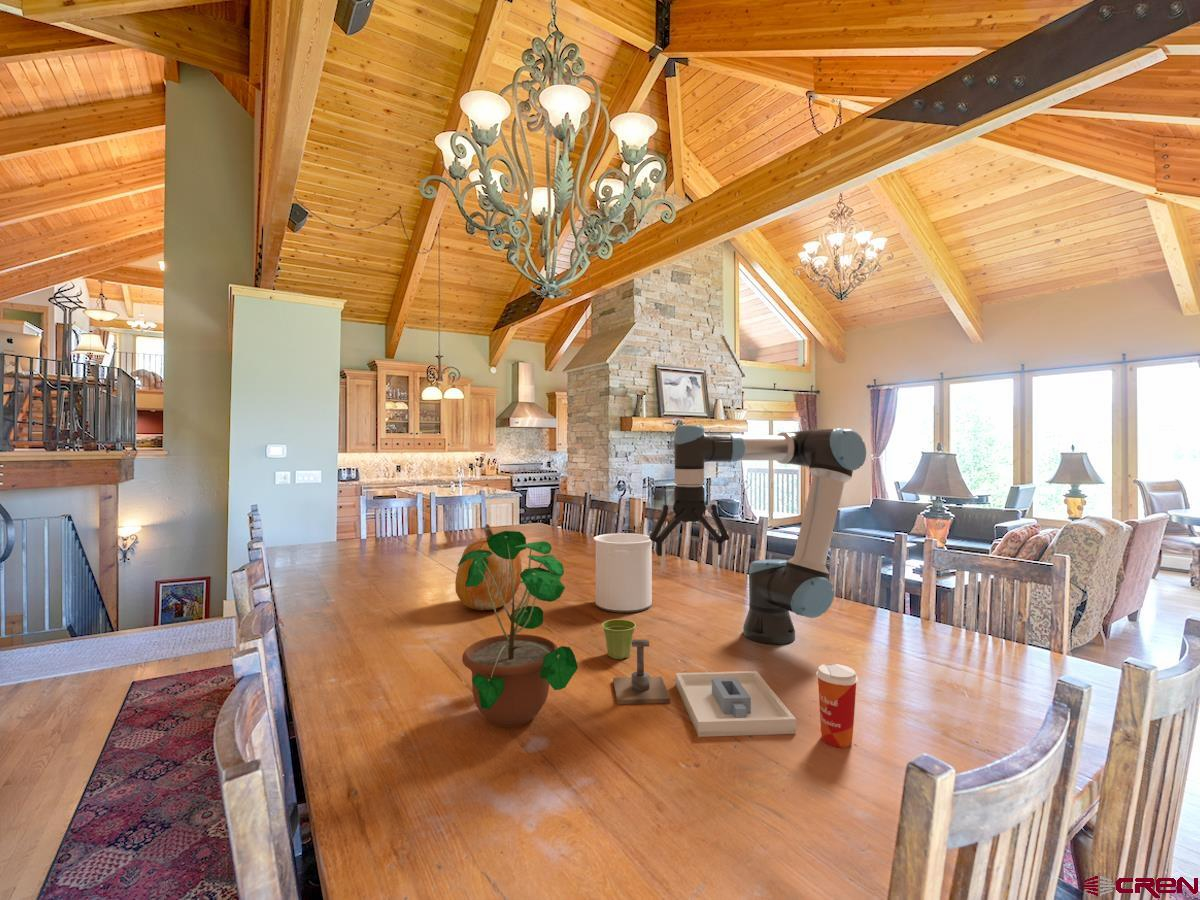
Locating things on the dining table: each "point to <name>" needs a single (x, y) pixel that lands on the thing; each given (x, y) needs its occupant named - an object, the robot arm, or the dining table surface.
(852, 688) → the paper cup
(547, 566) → the potted plant
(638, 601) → the bucket
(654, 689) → the lever on base
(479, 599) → the pumpkin
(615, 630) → the plant pot
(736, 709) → the grey slotted block
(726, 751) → the dining table surface
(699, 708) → the tray
